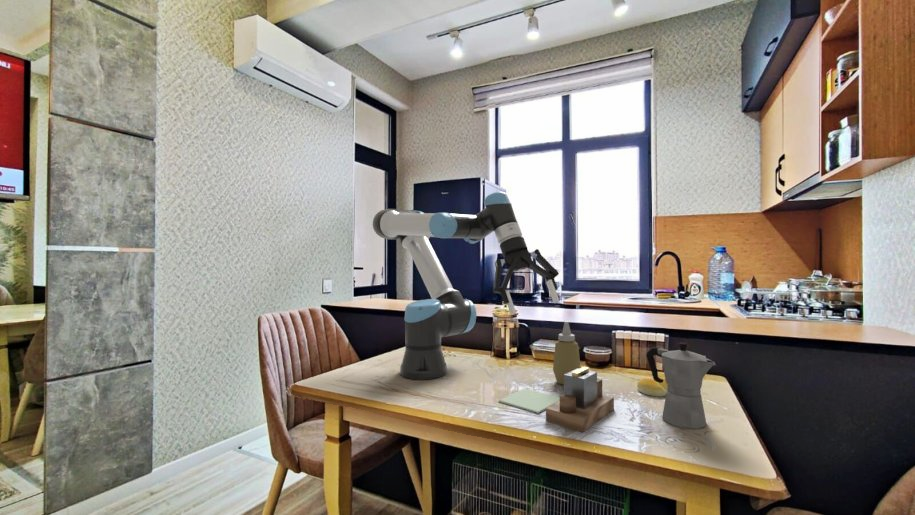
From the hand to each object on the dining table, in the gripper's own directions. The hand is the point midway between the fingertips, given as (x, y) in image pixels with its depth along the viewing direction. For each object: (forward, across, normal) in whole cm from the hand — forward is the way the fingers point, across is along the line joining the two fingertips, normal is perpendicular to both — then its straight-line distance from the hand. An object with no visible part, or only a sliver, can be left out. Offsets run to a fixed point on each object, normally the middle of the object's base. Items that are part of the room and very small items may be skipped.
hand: (535, 307), depth 116 cm
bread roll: (+31, +25, 0) cm, 40 cm away
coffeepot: (+36, +17, -17) cm, 43 cm away
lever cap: (+26, -2, -12) cm, 29 cm away
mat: (+23, -10, 0) cm, 25 cm away
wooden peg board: (+29, -3, -11) cm, 31 cm away
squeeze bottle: (+23, +6, +11) cm, 26 cm away
